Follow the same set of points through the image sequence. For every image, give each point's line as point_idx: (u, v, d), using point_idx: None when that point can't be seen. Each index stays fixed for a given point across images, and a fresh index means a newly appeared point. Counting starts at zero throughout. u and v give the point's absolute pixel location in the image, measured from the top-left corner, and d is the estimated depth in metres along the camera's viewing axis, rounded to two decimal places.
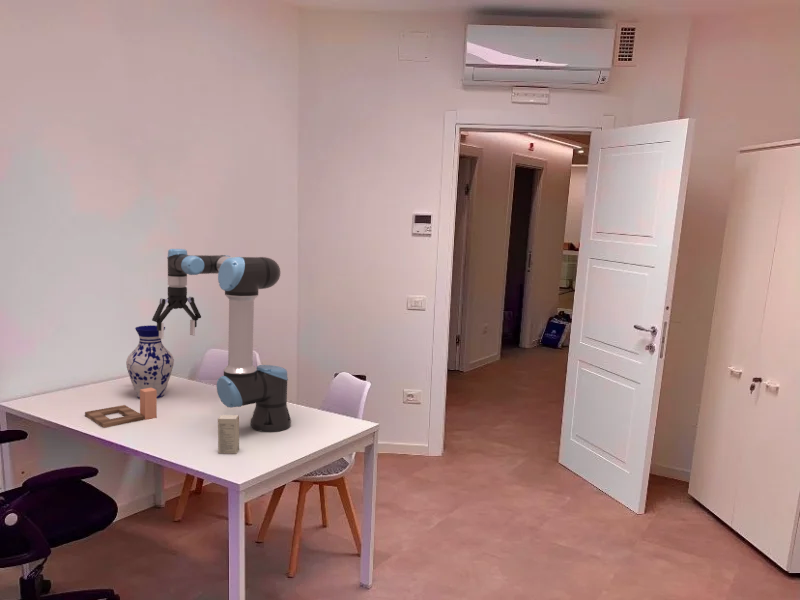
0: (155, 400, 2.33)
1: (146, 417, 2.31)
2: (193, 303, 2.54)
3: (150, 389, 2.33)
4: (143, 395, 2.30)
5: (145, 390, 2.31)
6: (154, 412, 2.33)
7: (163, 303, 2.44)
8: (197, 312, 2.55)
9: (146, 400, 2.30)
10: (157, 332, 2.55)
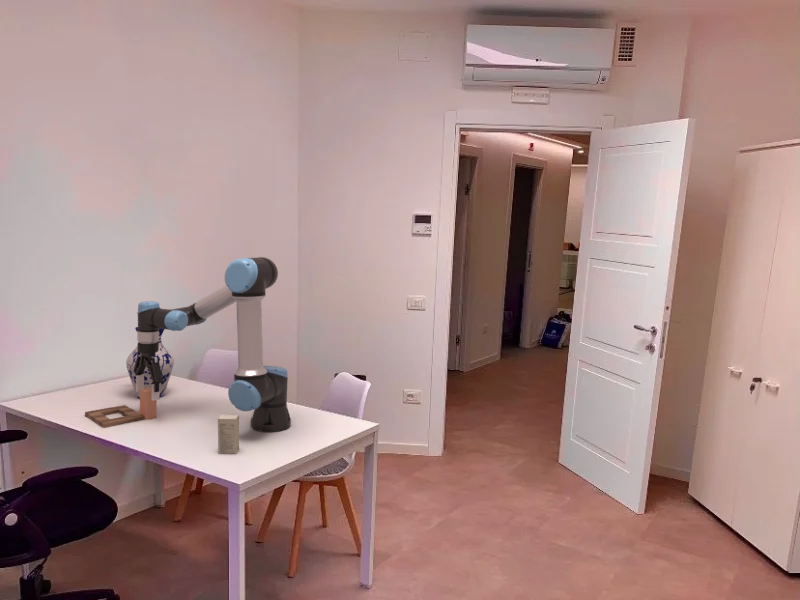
0: (155, 400, 2.33)
1: (146, 417, 2.31)
2: (152, 364, 2.26)
3: (150, 389, 2.33)
4: (143, 395, 2.30)
5: (145, 390, 2.31)
6: (154, 412, 2.33)
7: (137, 355, 2.34)
8: (154, 376, 2.25)
9: (146, 400, 2.30)
10: None
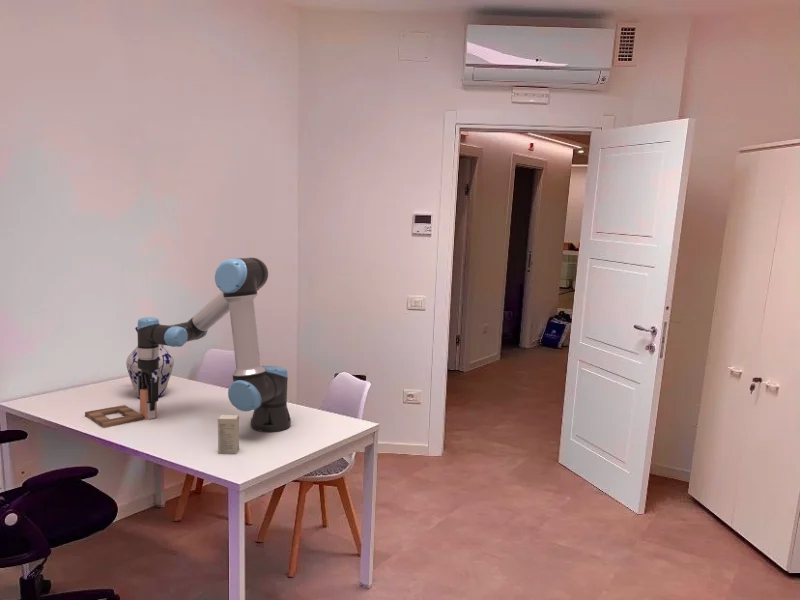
0: None
1: (146, 417, 2.31)
2: (151, 383, 2.27)
3: None
4: (143, 395, 2.30)
5: (145, 390, 2.31)
6: None
7: (138, 375, 2.35)
8: (151, 394, 2.28)
9: (146, 400, 2.30)
10: None
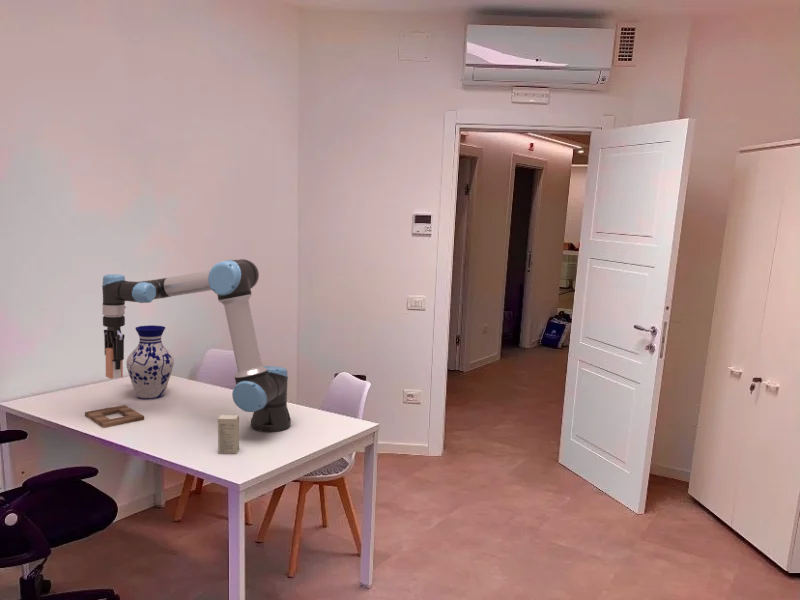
0: None
1: (111, 376, 2.26)
2: (116, 341, 2.23)
3: None
4: (108, 353, 2.26)
5: (111, 348, 2.27)
6: None
7: (104, 334, 2.30)
8: (116, 352, 2.24)
9: (111, 358, 2.26)
10: (157, 332, 2.55)
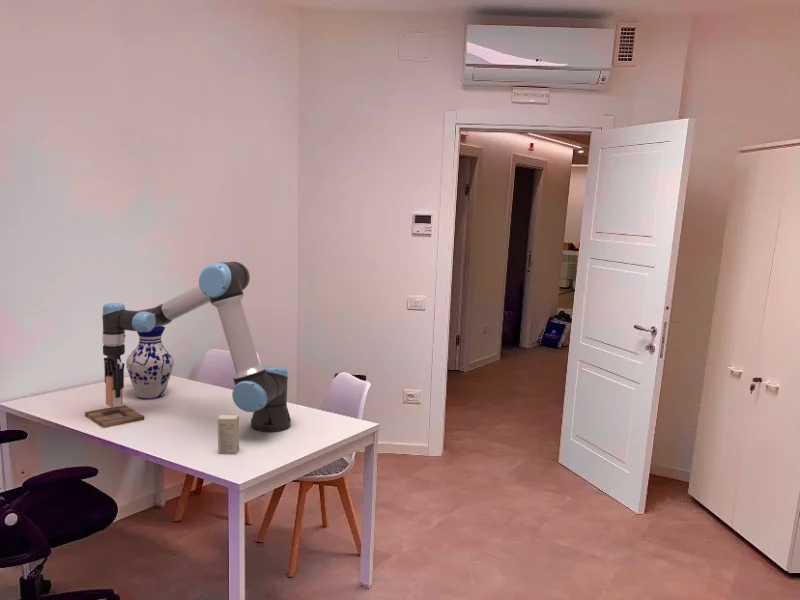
0: None
1: (111, 404, 2.28)
2: (116, 370, 2.24)
3: None
4: (108, 381, 2.27)
5: (111, 377, 2.28)
6: None
7: (104, 362, 2.32)
8: (116, 381, 2.25)
9: (111, 387, 2.27)
10: (157, 332, 2.55)
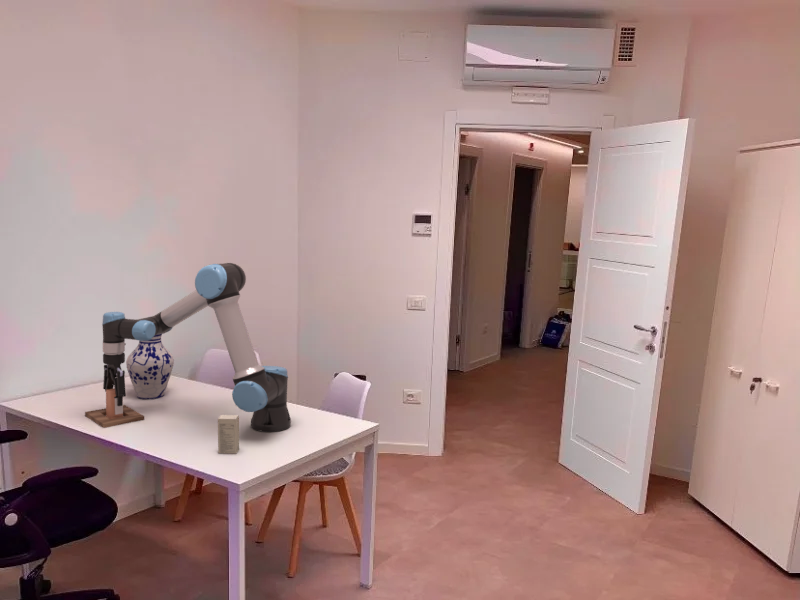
0: None
1: (112, 418, 2.28)
2: (117, 378, 2.24)
3: None
4: (108, 395, 2.28)
5: (111, 390, 2.29)
6: None
7: (104, 369, 2.32)
8: (118, 389, 2.24)
9: (112, 400, 2.27)
10: None
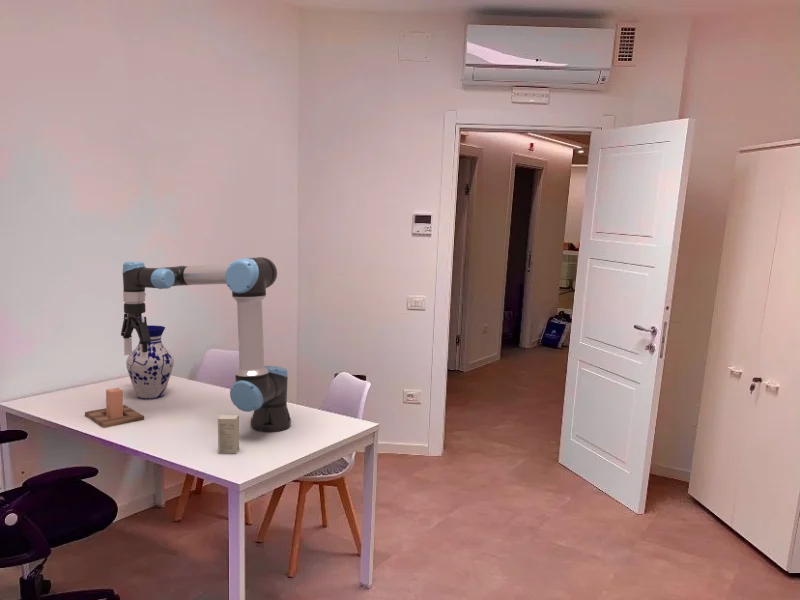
0: (121, 400, 2.30)
1: (112, 418, 2.28)
2: (139, 324, 2.23)
3: (116, 389, 2.30)
4: (108, 395, 2.28)
5: (111, 390, 2.29)
6: (120, 413, 2.30)
7: (124, 318, 2.32)
8: (142, 335, 2.22)
9: (112, 400, 2.27)
10: (157, 332, 2.55)
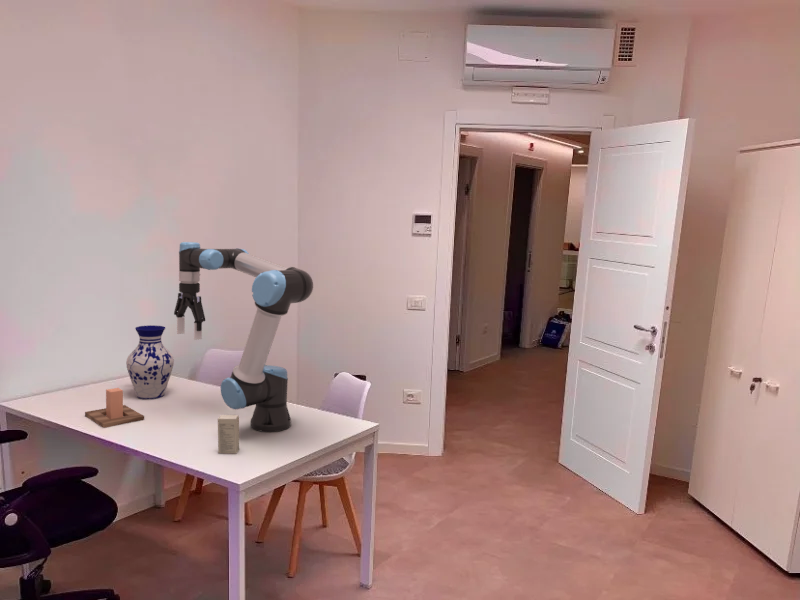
0: (121, 400, 2.30)
1: (112, 418, 2.28)
2: (194, 303, 2.27)
3: (116, 389, 2.30)
4: (108, 395, 2.28)
5: (111, 390, 2.29)
6: (120, 413, 2.30)
7: (178, 297, 2.36)
8: (197, 314, 2.27)
9: (112, 400, 2.27)
10: (157, 332, 2.55)
